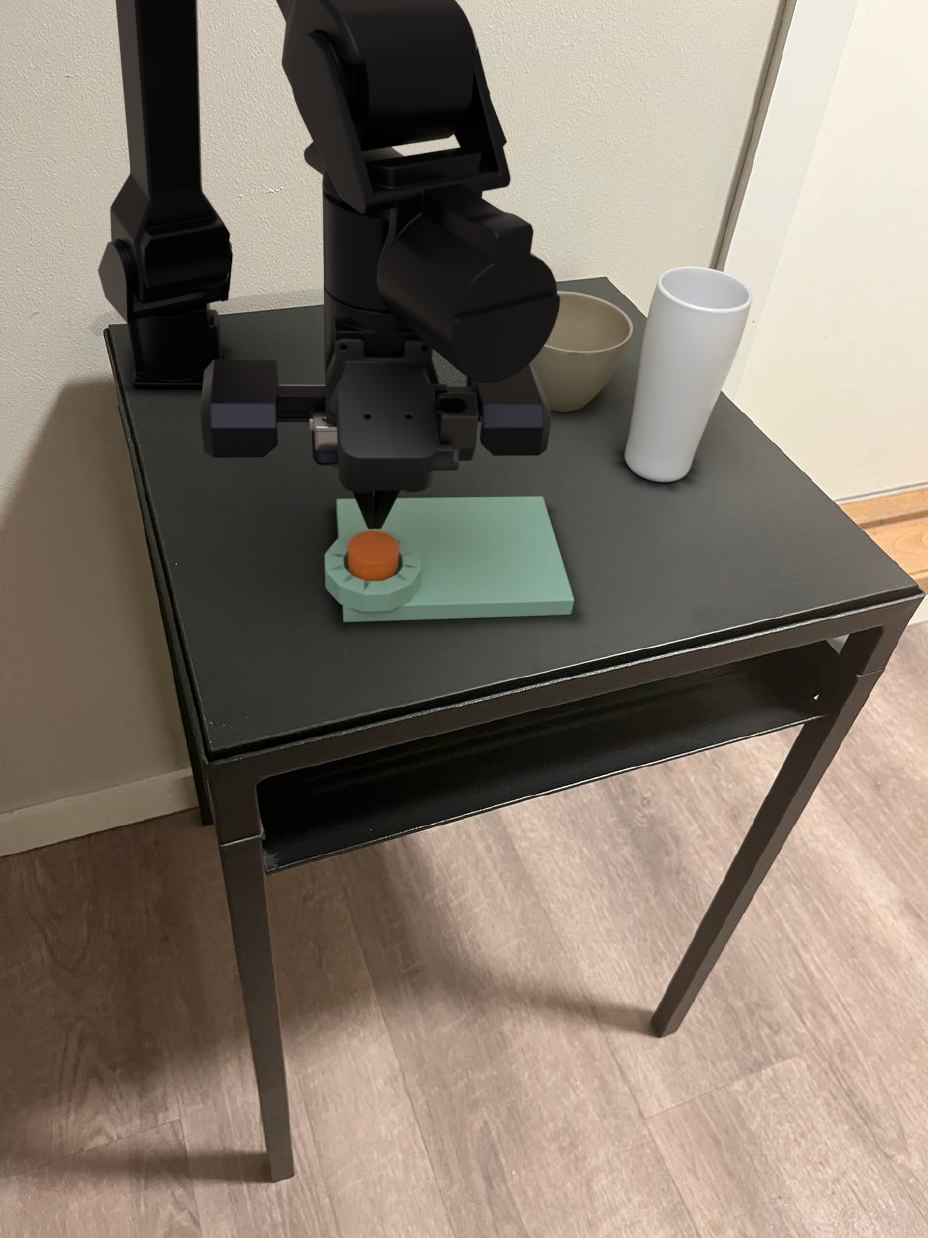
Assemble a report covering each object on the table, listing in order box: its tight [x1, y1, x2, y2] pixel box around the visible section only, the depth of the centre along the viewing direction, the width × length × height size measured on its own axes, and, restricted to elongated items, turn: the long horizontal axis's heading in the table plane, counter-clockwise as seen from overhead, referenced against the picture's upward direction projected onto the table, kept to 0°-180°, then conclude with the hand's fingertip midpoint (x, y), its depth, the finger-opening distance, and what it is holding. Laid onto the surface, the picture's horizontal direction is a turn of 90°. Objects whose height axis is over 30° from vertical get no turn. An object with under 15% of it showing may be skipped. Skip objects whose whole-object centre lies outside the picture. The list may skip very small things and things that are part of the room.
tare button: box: [348, 531, 399, 581], centre depth 61 cm, size 3×3×2 cm
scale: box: [324, 495, 575, 623], centre depth 65 cm, size 16×12×3 cm
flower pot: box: [530, 290, 634, 413], centre depth 81 cm, size 10×10×7 cm
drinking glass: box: [624, 265, 753, 483], centre depth 72 cm, size 7×7×15 cm
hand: (373, 525), depth 60 cm, fingers closed
